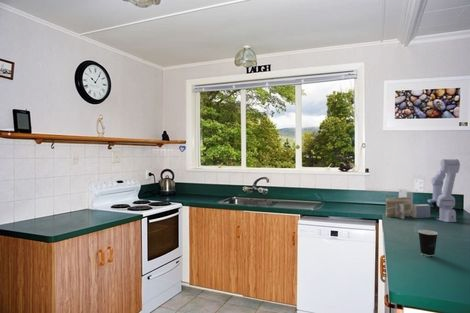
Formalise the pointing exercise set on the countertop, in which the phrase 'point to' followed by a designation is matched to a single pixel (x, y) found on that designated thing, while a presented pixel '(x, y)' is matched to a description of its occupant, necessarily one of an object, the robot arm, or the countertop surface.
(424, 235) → the dixie cup
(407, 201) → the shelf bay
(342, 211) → the countertop surface
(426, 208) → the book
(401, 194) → the skincare box
